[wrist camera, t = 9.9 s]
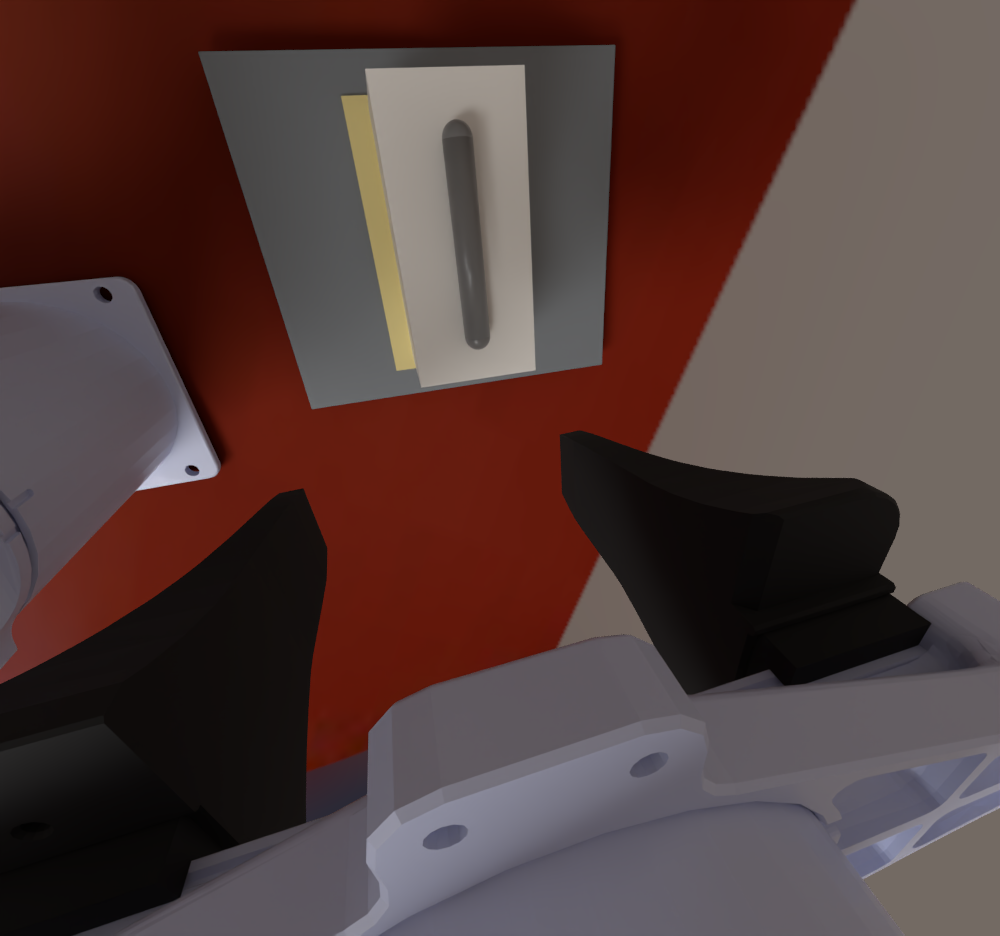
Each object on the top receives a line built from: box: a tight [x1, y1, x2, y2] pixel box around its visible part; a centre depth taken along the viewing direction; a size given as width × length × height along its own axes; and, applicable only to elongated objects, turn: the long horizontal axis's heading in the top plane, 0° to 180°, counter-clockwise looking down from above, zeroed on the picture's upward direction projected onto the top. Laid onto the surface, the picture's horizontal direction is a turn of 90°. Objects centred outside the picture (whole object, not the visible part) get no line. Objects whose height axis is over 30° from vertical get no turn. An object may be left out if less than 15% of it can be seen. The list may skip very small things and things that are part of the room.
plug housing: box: [365, 65, 536, 388], centre depth 14 cm, size 4×8×5 cm, turn 5°
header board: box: [198, 45, 615, 409], centre depth 15 cm, size 13×11×4 cm
